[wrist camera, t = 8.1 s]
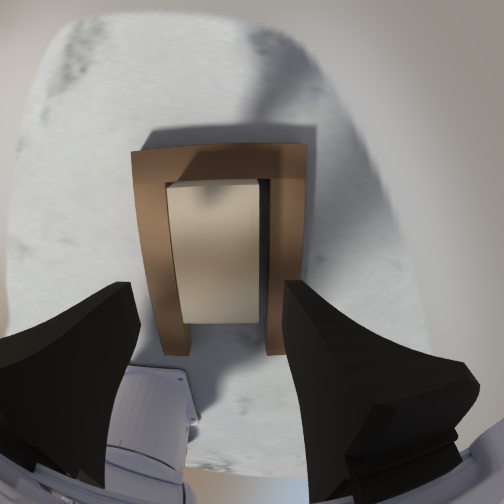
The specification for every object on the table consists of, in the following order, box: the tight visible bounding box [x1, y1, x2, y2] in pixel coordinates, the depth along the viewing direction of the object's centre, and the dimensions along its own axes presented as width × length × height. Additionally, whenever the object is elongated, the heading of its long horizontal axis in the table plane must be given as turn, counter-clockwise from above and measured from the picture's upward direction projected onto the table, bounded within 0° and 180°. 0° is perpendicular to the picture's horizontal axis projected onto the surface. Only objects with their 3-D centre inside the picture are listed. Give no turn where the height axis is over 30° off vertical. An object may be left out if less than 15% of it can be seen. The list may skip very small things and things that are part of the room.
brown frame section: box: [131, 143, 307, 356], centre depth 18 cm, size 15×10×2 cm, turn 0°
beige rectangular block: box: [167, 179, 259, 324], centre depth 16 cm, size 8×4×4 cm, turn 0°
